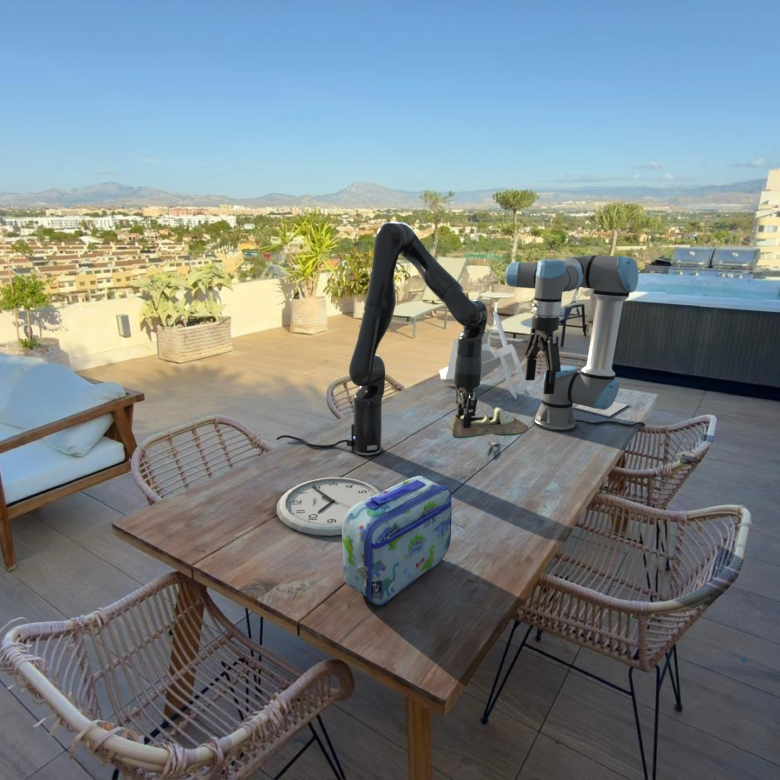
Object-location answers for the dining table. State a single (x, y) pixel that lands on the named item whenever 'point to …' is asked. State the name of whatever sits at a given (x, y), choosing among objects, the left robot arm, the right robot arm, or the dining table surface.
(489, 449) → the fork
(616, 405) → the invitation card
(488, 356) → the white plastic object
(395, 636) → the dining table surface
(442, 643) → the dining table surface
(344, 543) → the lunch box
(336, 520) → the wall clock
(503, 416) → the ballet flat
